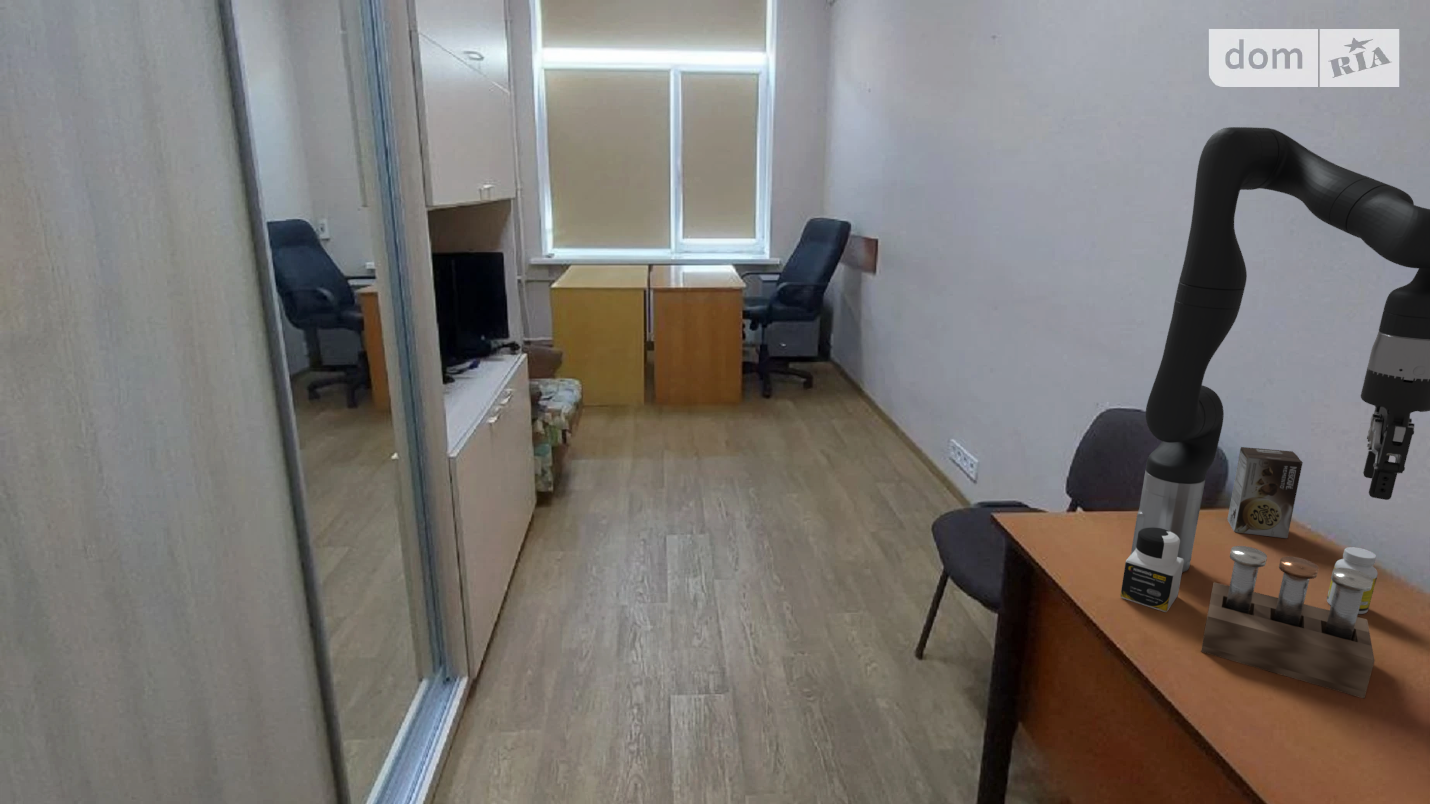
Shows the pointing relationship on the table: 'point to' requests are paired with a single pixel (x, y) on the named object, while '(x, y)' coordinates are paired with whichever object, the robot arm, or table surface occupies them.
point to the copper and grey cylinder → (1293, 589)
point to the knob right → (1346, 601)
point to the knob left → (1244, 577)
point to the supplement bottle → (1360, 562)
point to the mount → (1289, 643)
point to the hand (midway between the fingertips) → (1375, 487)
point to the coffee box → (1264, 492)
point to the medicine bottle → (1153, 569)
